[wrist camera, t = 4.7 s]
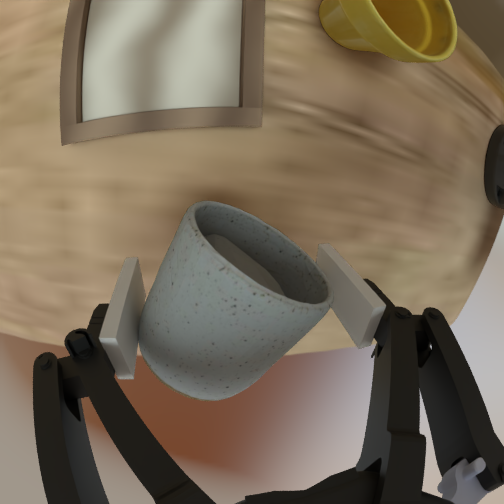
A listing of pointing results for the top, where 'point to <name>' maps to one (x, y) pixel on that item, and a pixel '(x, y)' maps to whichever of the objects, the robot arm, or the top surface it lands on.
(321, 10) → the plant pot
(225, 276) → the ceramic mug
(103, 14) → the coaster tray
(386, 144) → the top surface
